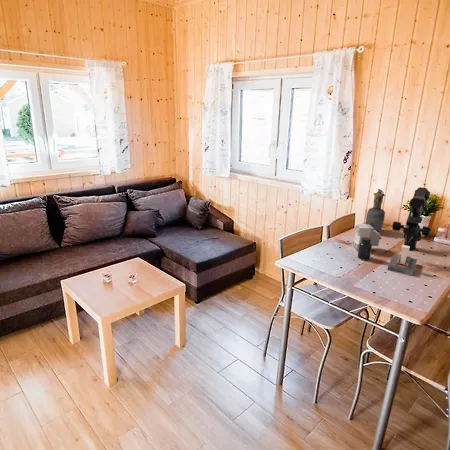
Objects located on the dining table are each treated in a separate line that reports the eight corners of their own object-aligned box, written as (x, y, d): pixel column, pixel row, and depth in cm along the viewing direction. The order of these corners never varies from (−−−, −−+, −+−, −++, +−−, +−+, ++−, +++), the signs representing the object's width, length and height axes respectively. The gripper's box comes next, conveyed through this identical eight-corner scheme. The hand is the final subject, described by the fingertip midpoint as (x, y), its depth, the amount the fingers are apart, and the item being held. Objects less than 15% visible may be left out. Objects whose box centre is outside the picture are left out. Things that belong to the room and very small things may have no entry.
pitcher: (362, 233, 239) (369, 190, 229) (367, 225, 254) (373, 185, 245) (379, 236, 234) (387, 192, 224) (383, 228, 249) (390, 187, 240)
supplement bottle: (369, 256, 201) (372, 237, 197) (370, 261, 195) (373, 241, 191) (357, 255, 203) (360, 235, 199) (357, 259, 197) (360, 239, 193)
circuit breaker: (380, 251, 208) (384, 228, 203) (356, 251, 208) (359, 227, 204) (375, 247, 215) (379, 224, 210) (352, 246, 215) (355, 223, 211)
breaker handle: (399, 261, 188) (402, 244, 184) (406, 263, 186) (409, 246, 183) (398, 263, 185) (401, 246, 182) (405, 264, 183) (409, 248, 180)
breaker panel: (392, 259, 198) (394, 251, 197) (416, 264, 192) (417, 256, 191) (387, 269, 185) (388, 261, 183) (412, 275, 179) (414, 267, 177)
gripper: (395, 207, 192) (389, 231, 187) (434, 213, 183) (428, 239, 178) (395, 217, 201) (389, 240, 196) (432, 223, 191) (426, 248, 186)
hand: (407, 242), depth 189 cm, fingers closed
